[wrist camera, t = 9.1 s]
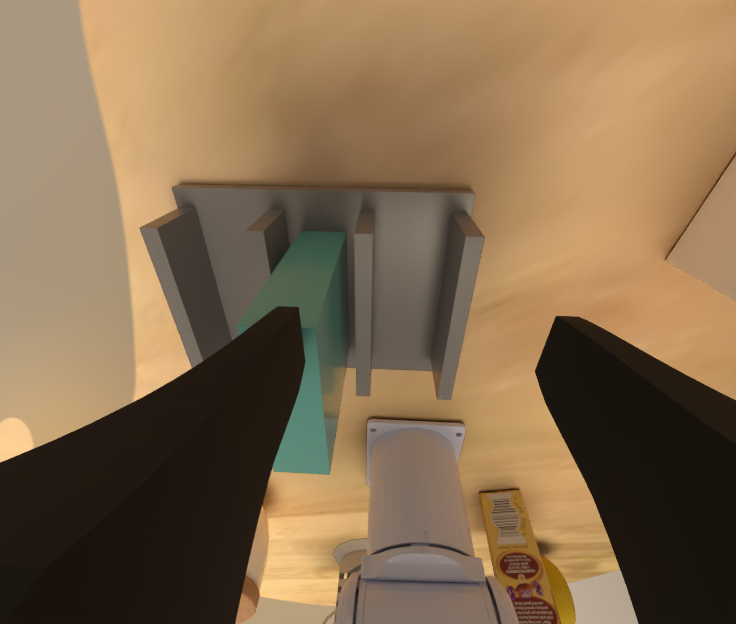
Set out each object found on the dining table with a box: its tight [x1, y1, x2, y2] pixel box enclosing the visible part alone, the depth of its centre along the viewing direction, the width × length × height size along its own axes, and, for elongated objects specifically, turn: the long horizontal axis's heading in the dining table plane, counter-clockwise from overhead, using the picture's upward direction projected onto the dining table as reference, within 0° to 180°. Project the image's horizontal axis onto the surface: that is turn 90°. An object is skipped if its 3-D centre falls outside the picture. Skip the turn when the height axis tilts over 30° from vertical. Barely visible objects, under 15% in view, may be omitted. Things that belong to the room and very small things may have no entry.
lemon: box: [541, 556, 576, 624], centre depth 35 cm, size 6×6×8 cm
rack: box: [140, 184, 485, 400], centre depth 19 cm, size 12×16×4 cm
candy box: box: [479, 490, 561, 624], centre depth 28 cm, size 9×4×15 cm, turn 18°
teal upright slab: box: [237, 231, 350, 475], centre depth 16 cm, size 8×2×9 cm, turn 0°
